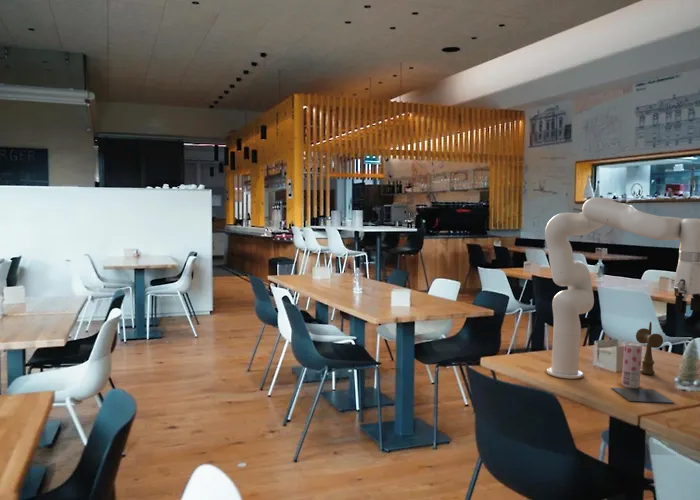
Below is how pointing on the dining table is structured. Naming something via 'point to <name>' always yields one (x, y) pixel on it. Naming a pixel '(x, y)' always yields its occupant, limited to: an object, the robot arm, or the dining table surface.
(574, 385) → the dining table surface
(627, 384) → the beverage can
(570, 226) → the robot arm
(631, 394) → the mat
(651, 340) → the kendama
